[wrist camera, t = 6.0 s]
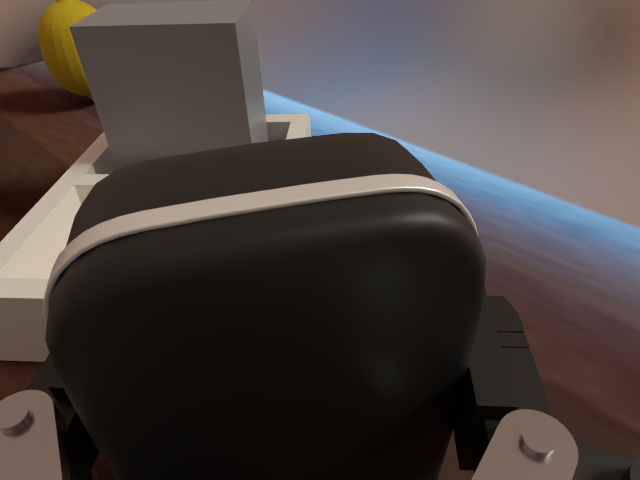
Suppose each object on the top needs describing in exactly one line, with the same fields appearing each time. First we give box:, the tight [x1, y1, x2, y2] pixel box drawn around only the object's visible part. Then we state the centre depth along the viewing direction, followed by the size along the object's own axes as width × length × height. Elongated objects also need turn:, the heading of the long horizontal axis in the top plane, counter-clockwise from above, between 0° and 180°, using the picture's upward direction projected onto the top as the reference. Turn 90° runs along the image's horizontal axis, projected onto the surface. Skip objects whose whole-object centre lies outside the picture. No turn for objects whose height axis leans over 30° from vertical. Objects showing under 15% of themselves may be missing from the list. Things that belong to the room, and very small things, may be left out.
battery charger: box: [43, 133, 486, 480], centre depth 11 cm, size 7×4×11 cm, turn 103°
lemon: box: [38, 0, 97, 101], centre depth 38 cm, size 6×6×8 cm
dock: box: [0, 0, 311, 362], centre depth 22 cm, size 11×15×10 cm
